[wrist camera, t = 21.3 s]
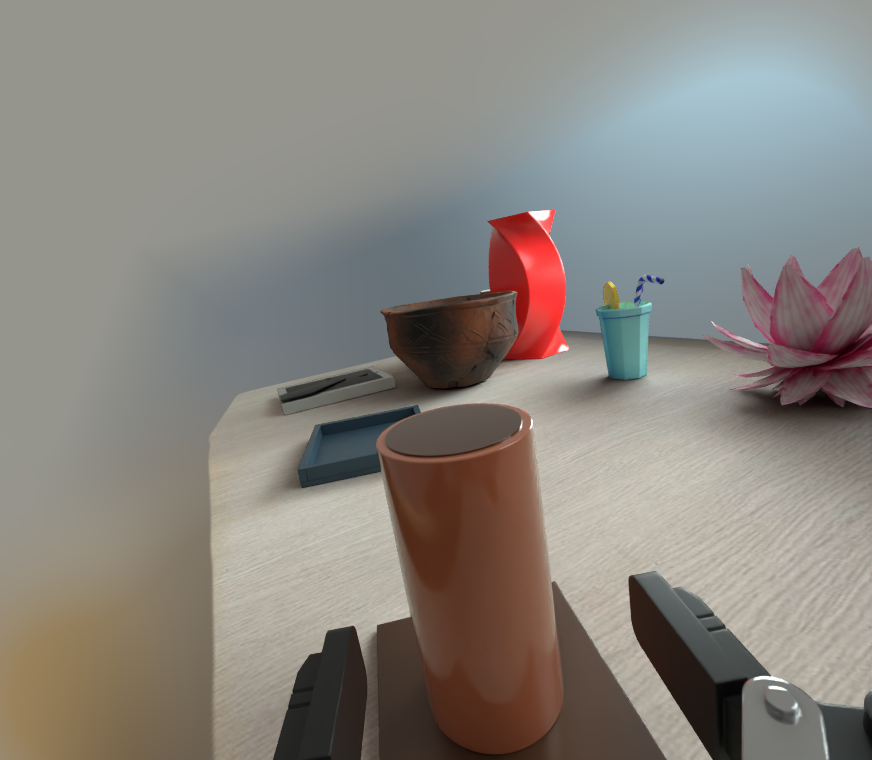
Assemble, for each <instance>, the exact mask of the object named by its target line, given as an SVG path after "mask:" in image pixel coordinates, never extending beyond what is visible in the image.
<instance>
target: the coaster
mask: <svg viewBox="0 0 872 760" xmlns="http://www.w3.org/2000/svg"><path fill="white" fill-rule="evenodd" d="M552 591H553V599H554V608H555V616H556V625H557V633H558V642H559V651H560V659H561V668H562V676H563V686H564V697H563V703H562V708H561V710H560V713H559V715H558V718H557V719H556V721H555V723H554V725H553V726H552V727H551V728H550V730H549V731H548V732H547V733H546V734H545V735H544V736H543V737H542V738H541V739H540V740H538V741H537V742H535V743H534V744H532V745H530V746H529V747H527V748H525V749H522V750H519V751H516V752H513V753H508V754H499V755H491V754H482V753H478V752H473V751H471V750H468V749H466V748H463V747H462V746H460V745H458V744H456V743H455V742H454V741H452V740H451V739H450V738H448V737H447V736H446V735H445V734H444V733H443V732H442V730H441V729H440V728H439V726H438V725H437V724H436V722H435V720H434V718H433V716H432V714H431V711H430V708H429V703H428V698H427V693H426V688H425V684H424V679H423V674H422V669H421V664H420V659H419V654H418V649H417V645H416V640H415V635H414V630H413V625H412V620H411V617H409V618H405V619H401V620H397V621H392V622H388V623H384V624H380V625H377V652H378V703H379V754H380V760H666V758H665V756H664V755H663V753H662V752H661V750H660V748H659V747H658V745H657V744H656V742H655V740H654V739H653V737H652V736H651V734H650V732H649V731H648V729H647V728H646V726H645V724H644V723H643V721H642V720H641V718H640V716H639V715H638V713H637V712H636V710H635V708H634V707H633V705H632V704H631V702H630V700H629V699H628V697H627V696H626V694H625V692H624V691H623V689H622V688H621V686H620V684H619V683H618V681H617V679H616V678H615V676H614V675H613V673H612V671H611V670H610V668H609V667H608V665H607V663H606V662H605V660H604V659H603V657H602V655H601V654H600V652H599V651H598V649H597V647H596V646H595V644H594V643H593V641H592V639H591V638H590V636H589V635H588V633H587V631H586V630H585V628H584V627H583V625H582V623H581V622H580V620H579V619H578V617H577V615H576V614H575V612H574V611H573V609H572V607H571V606H570V604H569V603H568V601H567V599H566V598H565V596H564V595H563V593H562V591H561V590H560V588H559V587H558V585H557V583H556V582H555V581H554V582H552Z"/></svg>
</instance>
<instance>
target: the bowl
mask: <svg viewBox="0 0 872 760" xmlns="http://www.w3.org/2000/svg"><path fill="white" fill-rule="evenodd" d="M516 297H517V292H515V291H510V290H509V291H505V292H496V293H485V294H478V295H468V296H459V297H452V298H446V299H440V300H433V301H427V302H420V303H413V304H408V305H401V306H395V307H391V308H387V309H383V310H381V313H382V314H383V315H384V317H385V320H386V323H387V332H388V337H389V344H390V348H391V349H392V350H393V352H394V354H396V356H397V357H398V358H399V359H400V360H401V361H402V362H403V363H404V364H405V365H406V366H407V367H408V368H409V369H411V370H412V371H413V372H414V373H415V374H416V375H417V376H418V377H419V378H420V379H421V380H422V381H423V382H424V383H425V384H426V385H427V386H428V387H431V388H452V387H455V386H457V387H466V386H469V385H472V384H476V383H479V382H481V381H484V380H486V379H487V378H489V377H490V376H491V375H492V373H493V372H494V370H495V369H496V368H497V366H498V365H499V363H500V362H501V361H502V359H503V358H504V357H505V355H506V354H507V352H508V351H509V350H510V348H511V347H512V345H513V344H514V342H515V341H516V339H517V336H518V334H519V332H518V324H517V318H516Z"/></svg>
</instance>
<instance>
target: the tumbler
mask: <svg viewBox="0 0 872 760" xmlns="http://www.w3.org/2000/svg"><path fill="white" fill-rule="evenodd" d="M376 450H377V454H378V459H379V464H380V469H381V474H382V479H383V484H384V489H385V493H386V498H387V503H388V508H389V513H390V518H391V523H392V528H393V532H394V537H395V542H396V547H397V552H398V557H399V562H400V567H401V571H402V576H403V581H404V586H405V591H406V596H407V601H408V606H409V610H410V615H411V620H412V625H413V630H414V635H415V640H416V645H417V649H418V654H419V659H420V664H421V669H422V674H423V679H424V684H425V688H426V693H427V698H428V703H429V708H430V711H431V714H432V716H433V718H434V720H435V722H436V724H437V725H438V726H439V728H440V729H441V730H442V732H443V733H444V734H445V735H446V736H447V737H448V738H450V739H451V740H452V741H454V742H455V743H456V744H458V745H460V746H462V747H463V748H466V749H468V750H471V751H473V752H478V753H482V754H491V755H499V754H508V753H513V752H516V751H519V750H522V749H525V748H527V747H529V746H530V745H532V744H534V743H535V742H537V741H538V740H540V739H541V738H542V737H543V736H544V735H545V734H546V733H547V732H548V731H549V730H550V728H551V727H552V726H553V725H554V723H555V721H556V719H557V718H558V715H559V713H560V710H561V708H562V703H563V697H564V686H563V676H562V668H561V659H560V651H559V642H558V633H557V625H556V616H555V608H554V599H553V591H552V582H551V573H550V565H549V556H548V548H547V539H546V531H545V522H544V513H543V505H542V496H541V488H540V479H539V470H538V462H537V453H536V445H535V436H534V428H533V421H532V418H531V417H530V416H529V414H528V413H526V412H525V411H523V410H521V409H518V408H515V407H511V406H507V405H500V404H485V403H482V404H463V405H454V406H448V407H442V408H437V409H433V410H429V411H425V412H422V413H418V414H416V415H413V416H410V417H408V418H405V419H403V420H401V421H399V422H397V423H395V424H393V425H391V426H390V427H388V428H387V429H385V430H384V431H383V432H382V433H381V434H380V435H379V437H378V439H377V441H376Z"/></svg>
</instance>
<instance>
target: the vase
mask: <svg viewBox="0 0 872 760" xmlns="http://www.w3.org/2000/svg"><path fill="white" fill-rule="evenodd" d="M554 214H555V210H548V211H534V212H525V213H521V214H516V215H512V216H508V217H503V218H499V219H495V220H490V221H488V222H489V223H490V224H491V225H492V233H491V239H490V248H489V286H490V293H496V292H505V291H509V290H510V291H515V292H517V297H516V318H517V324H518V332H519V334H518V336H517V339H516V341H515V342H514V344H513V345H512V347H511V348H510V350H509V351H508V352H507V354H506V355H505V357H504V358H503V359H542V358H545V357H548V356H550V355H553V354H556V353H559V352H562V351H565V350H568V349H569V348H568V346H567V344H566V342H565V340H564V338H563V335H562V333H561V331H560V329H559V324H560V321H561V318H562V314H563V310H564V305H565V296H566V281H565V274H564V269H563V265H562V262H561V258H560V256H559V253H558V251H557V249H556V247H555V245H554V243H553V241H552V240H551V238H550V236H549V235H550V230H551V225H552V221H553V217H554Z"/></svg>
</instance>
